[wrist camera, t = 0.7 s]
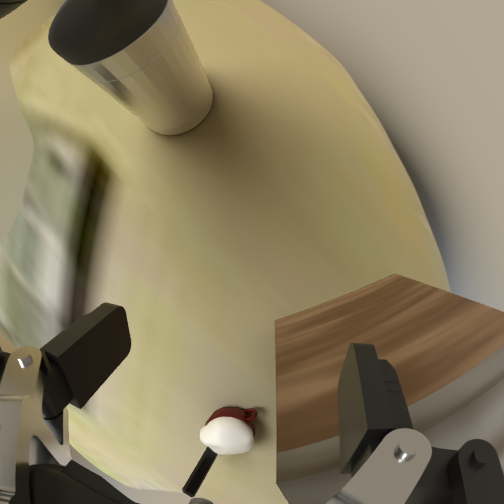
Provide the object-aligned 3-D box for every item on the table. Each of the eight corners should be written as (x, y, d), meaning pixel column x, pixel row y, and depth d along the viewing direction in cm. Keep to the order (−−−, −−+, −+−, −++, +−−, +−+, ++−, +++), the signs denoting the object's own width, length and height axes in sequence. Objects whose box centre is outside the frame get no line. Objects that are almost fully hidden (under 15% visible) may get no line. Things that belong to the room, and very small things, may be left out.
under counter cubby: (274, 320, 31) (276, 483, 8) (395, 273, 30) (552, 330, 7) (324, 454, 32) (348, 582, 9) (418, 415, 31) (490, 517, 8)
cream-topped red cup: (254, 392, 32) (249, 451, 20) (270, 427, 32) (272, 489, 20) (187, 409, 33) (160, 464, 21) (206, 442, 33) (188, 500, 21)
